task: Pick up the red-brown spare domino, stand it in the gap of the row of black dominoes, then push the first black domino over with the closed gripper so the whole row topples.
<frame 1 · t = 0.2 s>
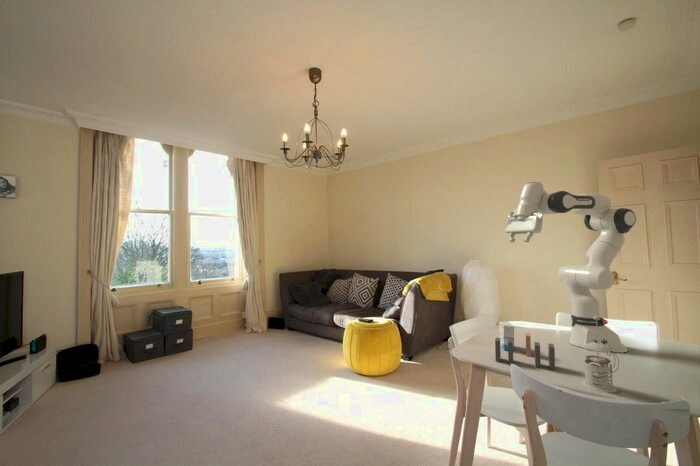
hand: (518, 242, 152), 51 cm above the table, tool tilted 20°, fingers open, 8 cm apart
french press: (601, 386, 115), on the table
ink box: (506, 348, 156), on the table
spare domino: (528, 354, 147), on the table
domino 4: (498, 359, 141), on the table
domino 1: (551, 367, 132), on the table
domino 3: (511, 361, 139), on the table
domino 2: (537, 365, 134), on the table
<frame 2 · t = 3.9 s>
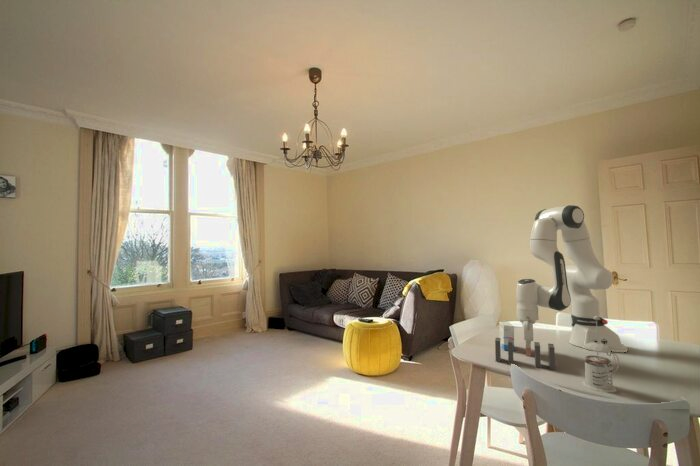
hand: (528, 345, 147), 4 cm above the table, tool pointing down, fingers closed on spare domino, 5 cm apart
spare domino: (528, 354, 147), on the table, touching gripper
everything else where it was.
when the fingers open (5 cm above the table, at t = 9.2 s): spare domino stays where it is, on the table.
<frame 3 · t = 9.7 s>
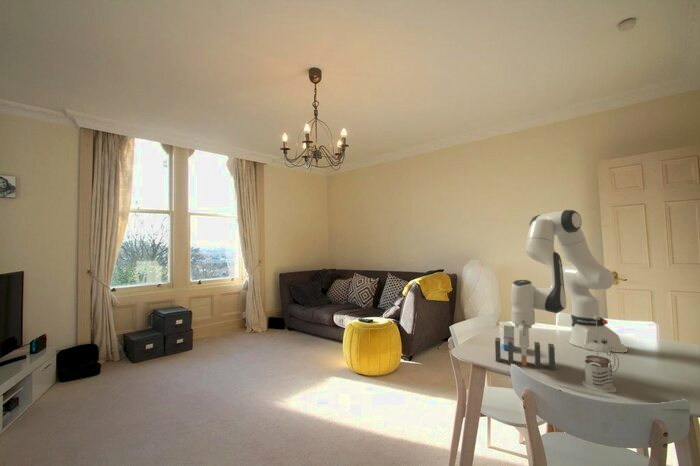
hand: (523, 351, 136), 5 cm above the table, tool pointing down, fingers open, 8 cm apart
spare domino: (524, 363, 136), on the table
everything else where it was.
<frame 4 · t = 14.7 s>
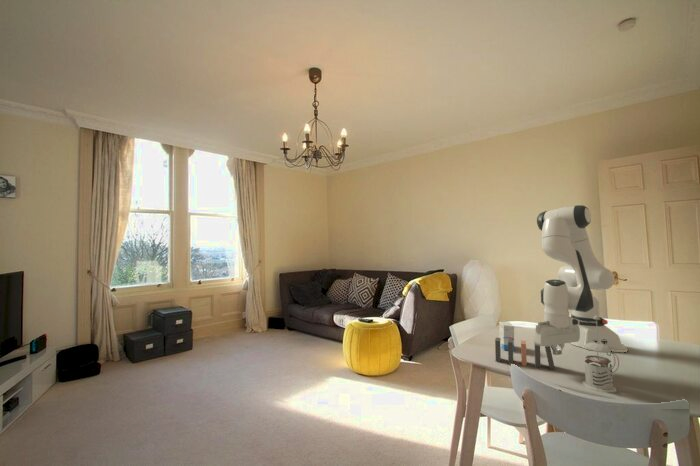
hand: (557, 354, 131), 6 cm above the table, tool pointing down, fingers closed
domino 1: (551, 367, 132), on the table, tilted 9°
everything else where it was.
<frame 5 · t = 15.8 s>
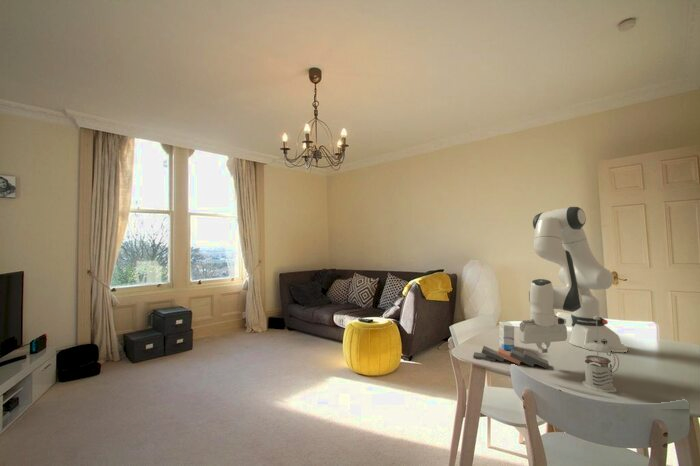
hand: (543, 352, 133), 6 cm above the table, tool pointing down, fingers closed
spare domino: (519, 361, 137), point 1 cm above the table, tilted 71°, touching domino 2, domino 3
domino 4: (495, 359, 141), on the table, tilted 90°, touching domino 3
domino 1: (547, 364, 132), point 1 cm above the table, tilted 69°, touching domino 2
domino 3: (503, 358, 140), point 1 cm above the table, tilted 72°, touching domino 4, spare domino
domino 2: (533, 363, 135), point 1 cm above the table, tilted 69°, touching domino 1, spare domino
everything else where it was.
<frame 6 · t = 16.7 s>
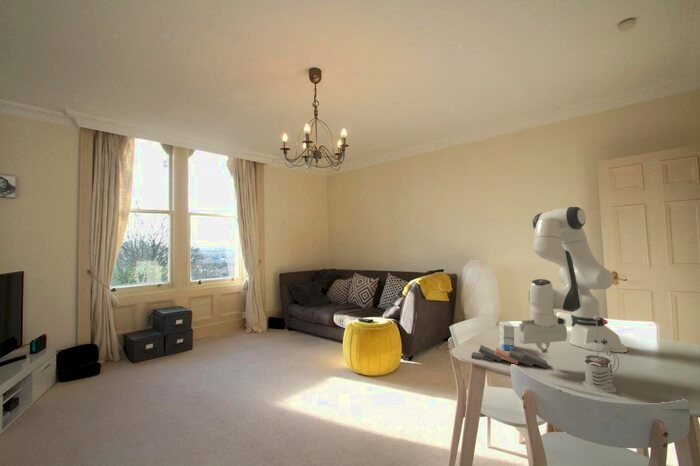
hand: (542, 352, 133), 6 cm above the table, tool pointing down, fingers closed
spare domino: (517, 360, 137), point 1 cm above the table, tilted 71°, touching domino 2
domino 3: (500, 357, 140), point 1 cm above the table, tilted 71°, touching domino 4
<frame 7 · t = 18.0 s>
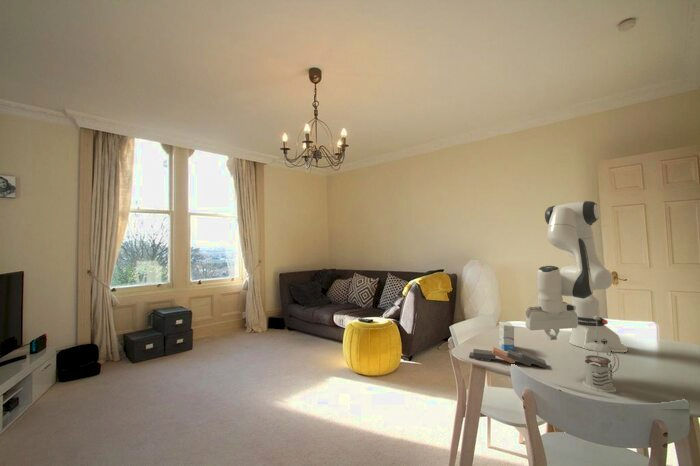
hand: (552, 339, 132), 11 cm above the table, tool pointing down, fingers closed
spare domino: (514, 360, 138), point 1 cm above the table, tilted 68°, touching domino 2
domino 4: (491, 358, 142), on the table, tilted 90°
domino 3: (495, 355, 141), point 2 cm above the table, tilted 89°
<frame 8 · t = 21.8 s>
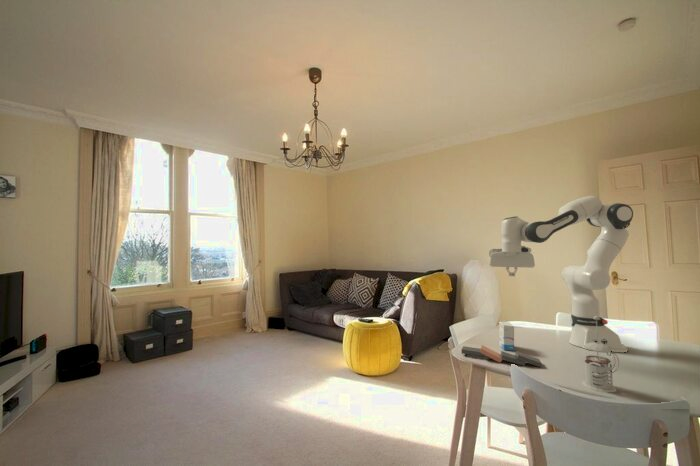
hand: (512, 276, 162), 34 cm above the table, tool pointing down, fingers closed
spare domino: (501, 359, 140), point 1 cm above the table, tilted 68°, touching domino 2, domino 3
domino 1: (539, 363, 134), point 1 cm above the table, tilted 73°, touching domino 2
domino 3: (483, 352, 144), point 2 cm above the table, tilted 90°, touching spare domino
domino 2: (524, 362, 136), point 1 cm above the table, tilted 77°, touching domino 1, spare domino
at the end: domino 4 tilted 90°; spare domino tilted 68°; spare domino inside the target area (5.2 cm from its centre), point 0.8 cm above the table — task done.
